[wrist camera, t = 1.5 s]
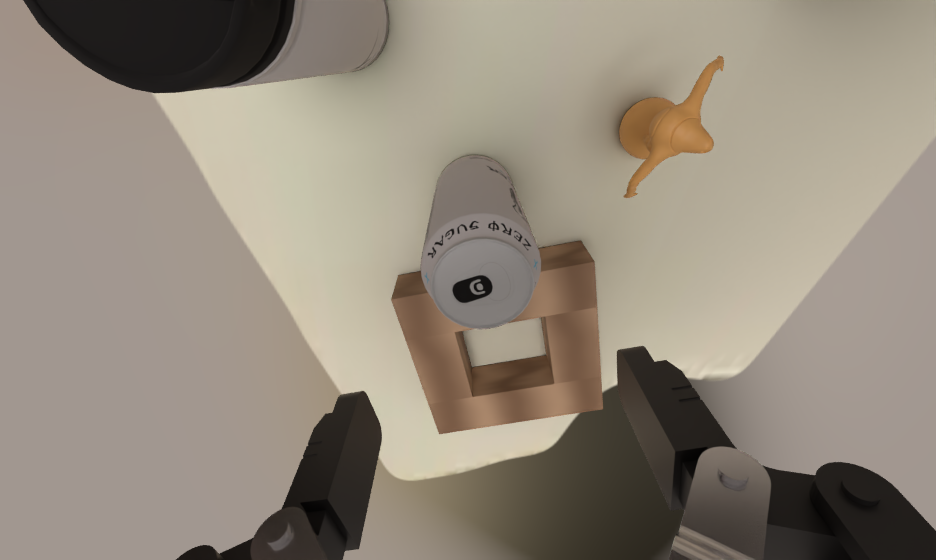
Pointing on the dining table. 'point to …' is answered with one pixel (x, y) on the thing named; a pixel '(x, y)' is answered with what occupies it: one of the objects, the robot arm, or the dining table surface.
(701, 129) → the figurine
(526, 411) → the wooden square frame
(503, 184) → the energy drink can
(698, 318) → the dining table surface
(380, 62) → the dining table surface
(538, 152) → the dining table surface
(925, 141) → the dining table surface
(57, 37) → the travel mug
